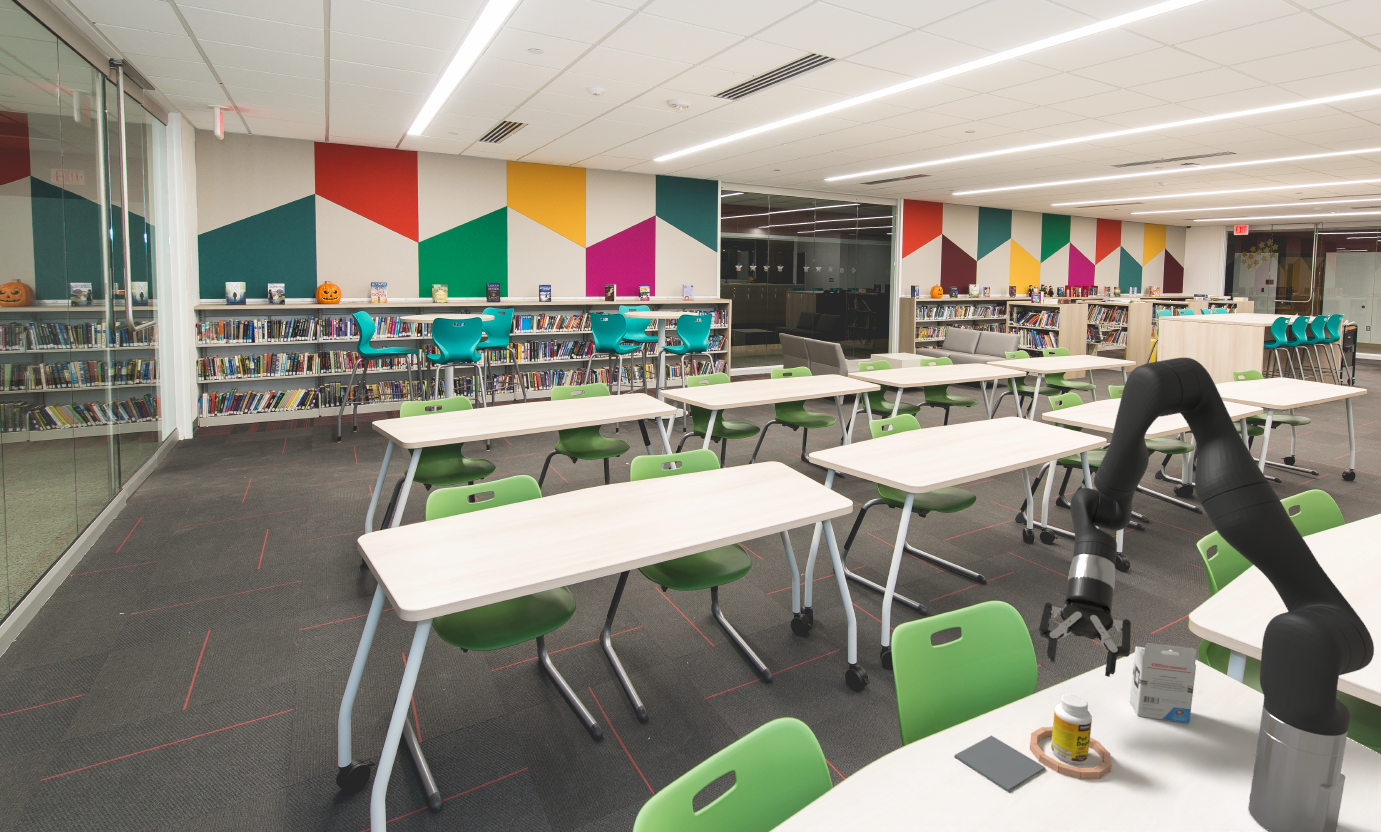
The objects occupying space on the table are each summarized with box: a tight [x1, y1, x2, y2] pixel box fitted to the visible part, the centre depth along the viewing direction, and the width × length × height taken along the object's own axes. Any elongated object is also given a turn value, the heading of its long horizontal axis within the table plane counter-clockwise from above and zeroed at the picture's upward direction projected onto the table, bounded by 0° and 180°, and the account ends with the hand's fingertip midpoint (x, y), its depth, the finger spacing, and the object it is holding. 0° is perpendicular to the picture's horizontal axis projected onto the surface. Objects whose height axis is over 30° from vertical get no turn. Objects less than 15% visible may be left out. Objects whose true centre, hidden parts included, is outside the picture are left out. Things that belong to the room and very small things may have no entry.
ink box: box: [1129, 642, 1198, 724], centre depth 129 cm, size 9×5×15 cm, turn 73°
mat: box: [954, 735, 1046, 793], centre depth 117 cm, size 10×10×1 cm
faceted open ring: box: [1029, 726, 1112, 780], centre depth 118 cm, size 12×12×1 cm
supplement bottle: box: [1050, 693, 1093, 765], centre depth 118 cm, size 6×6×10 cm
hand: (1079, 668), depth 123 cm, fingers open, 8 cm apart
